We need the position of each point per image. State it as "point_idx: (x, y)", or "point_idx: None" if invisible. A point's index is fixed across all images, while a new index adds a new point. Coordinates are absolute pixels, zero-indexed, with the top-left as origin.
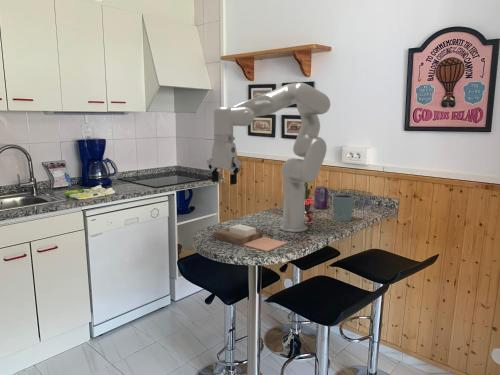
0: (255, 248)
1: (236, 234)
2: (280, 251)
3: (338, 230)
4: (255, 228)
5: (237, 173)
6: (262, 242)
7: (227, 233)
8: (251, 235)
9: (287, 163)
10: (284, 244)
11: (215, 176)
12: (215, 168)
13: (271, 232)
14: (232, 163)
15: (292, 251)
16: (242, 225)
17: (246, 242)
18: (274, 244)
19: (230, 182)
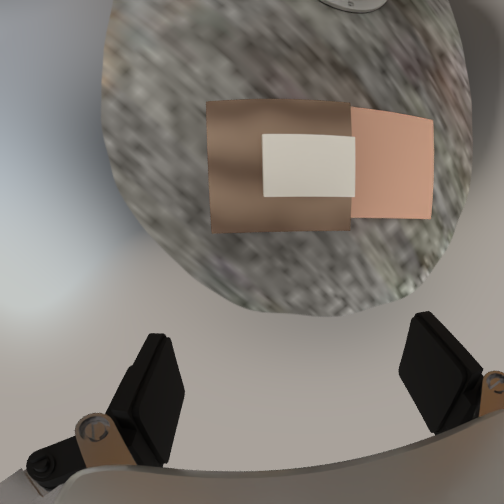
0: (394, 217)
1: None
2: (449, 193)
3: None
4: (354, 138)
5: (497, 376)
6: (384, 163)
7: (265, 208)
8: None
9: None
10: (432, 134)
11: (167, 408)
12: (98, 458)
13: (323, 41)
14: (495, 501)
15: (466, 174)
16: (289, 141)
17: None
18: (419, 157)
19: (408, 384)
